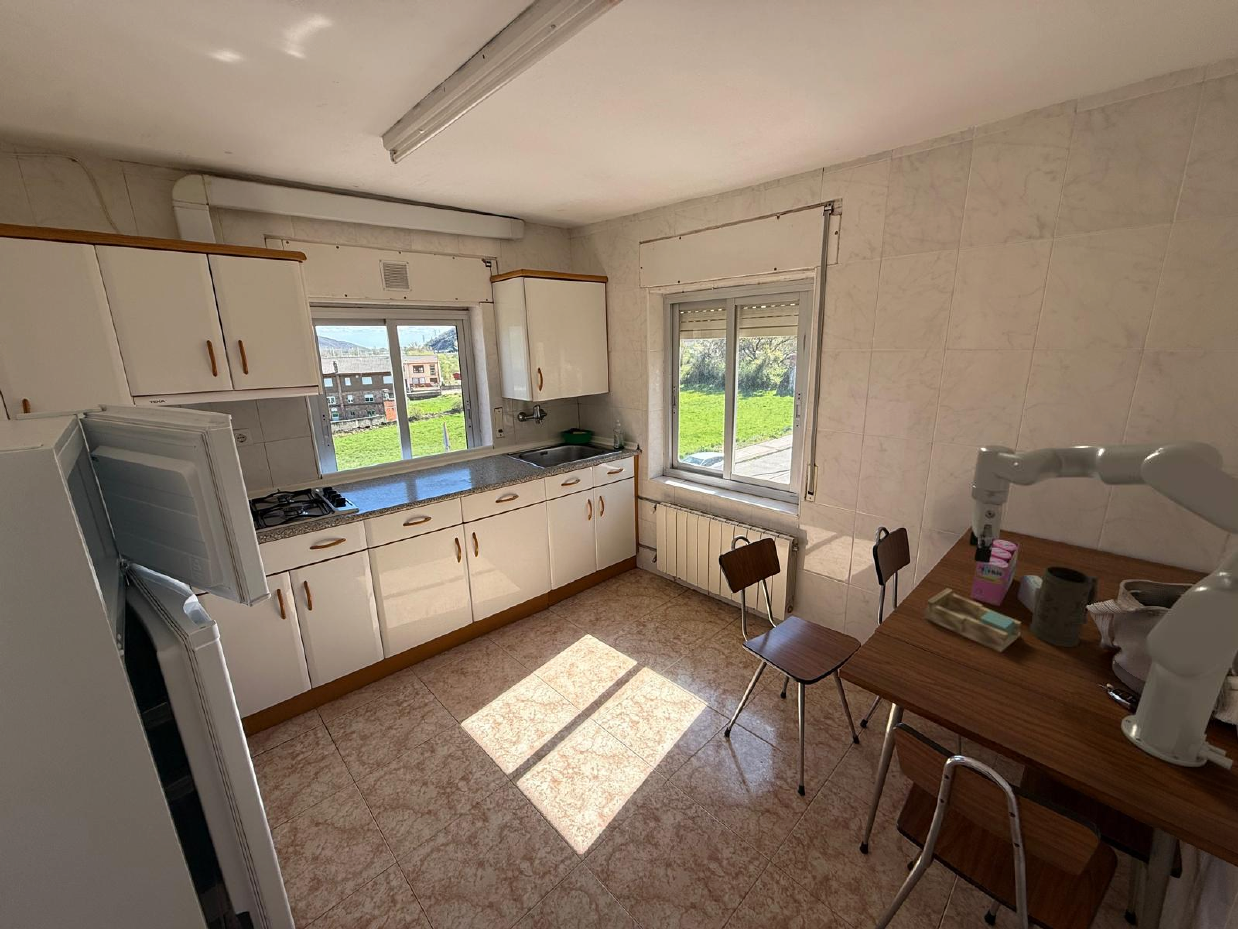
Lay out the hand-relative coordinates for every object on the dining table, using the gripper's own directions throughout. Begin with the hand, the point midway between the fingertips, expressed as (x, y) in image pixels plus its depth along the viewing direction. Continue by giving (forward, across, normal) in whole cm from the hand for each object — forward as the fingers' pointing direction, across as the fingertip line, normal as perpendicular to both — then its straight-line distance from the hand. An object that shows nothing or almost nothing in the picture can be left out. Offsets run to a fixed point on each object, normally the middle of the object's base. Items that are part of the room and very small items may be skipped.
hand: (978, 553), depth 133 cm
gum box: (+28, +36, -12) cm, 47 cm away
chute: (+28, +8, -3) cm, 29 cm away
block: (+26, +5, -8) cm, 28 cm away
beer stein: (+28, +14, -24) cm, 40 cm away
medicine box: (+28, +28, -21) cm, 44 cm away
